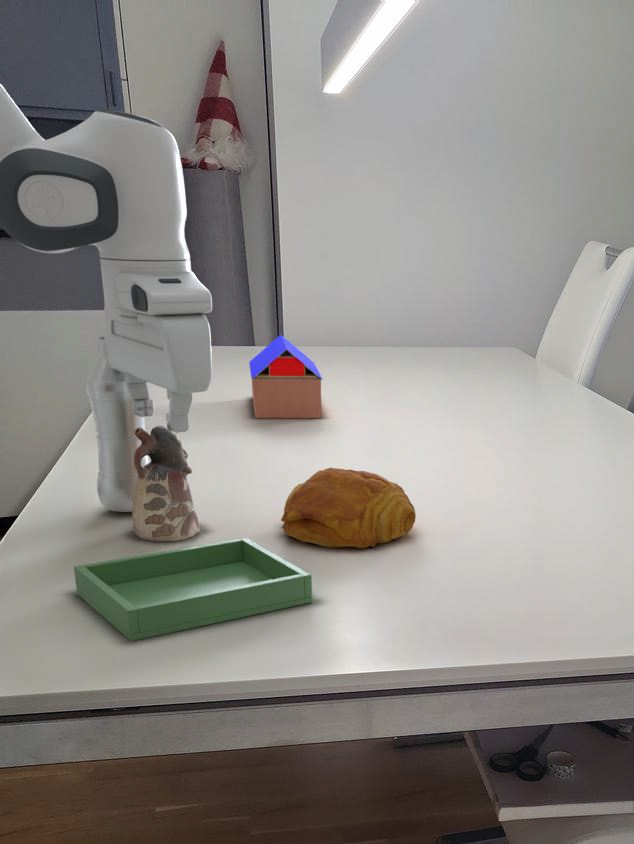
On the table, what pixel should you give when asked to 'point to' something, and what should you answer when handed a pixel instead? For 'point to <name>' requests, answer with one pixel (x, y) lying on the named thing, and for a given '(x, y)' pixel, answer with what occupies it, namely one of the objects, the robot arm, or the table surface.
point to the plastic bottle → (114, 433)
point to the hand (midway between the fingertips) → (160, 423)
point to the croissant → (347, 509)
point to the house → (285, 383)
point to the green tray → (191, 587)
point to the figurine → (162, 488)
